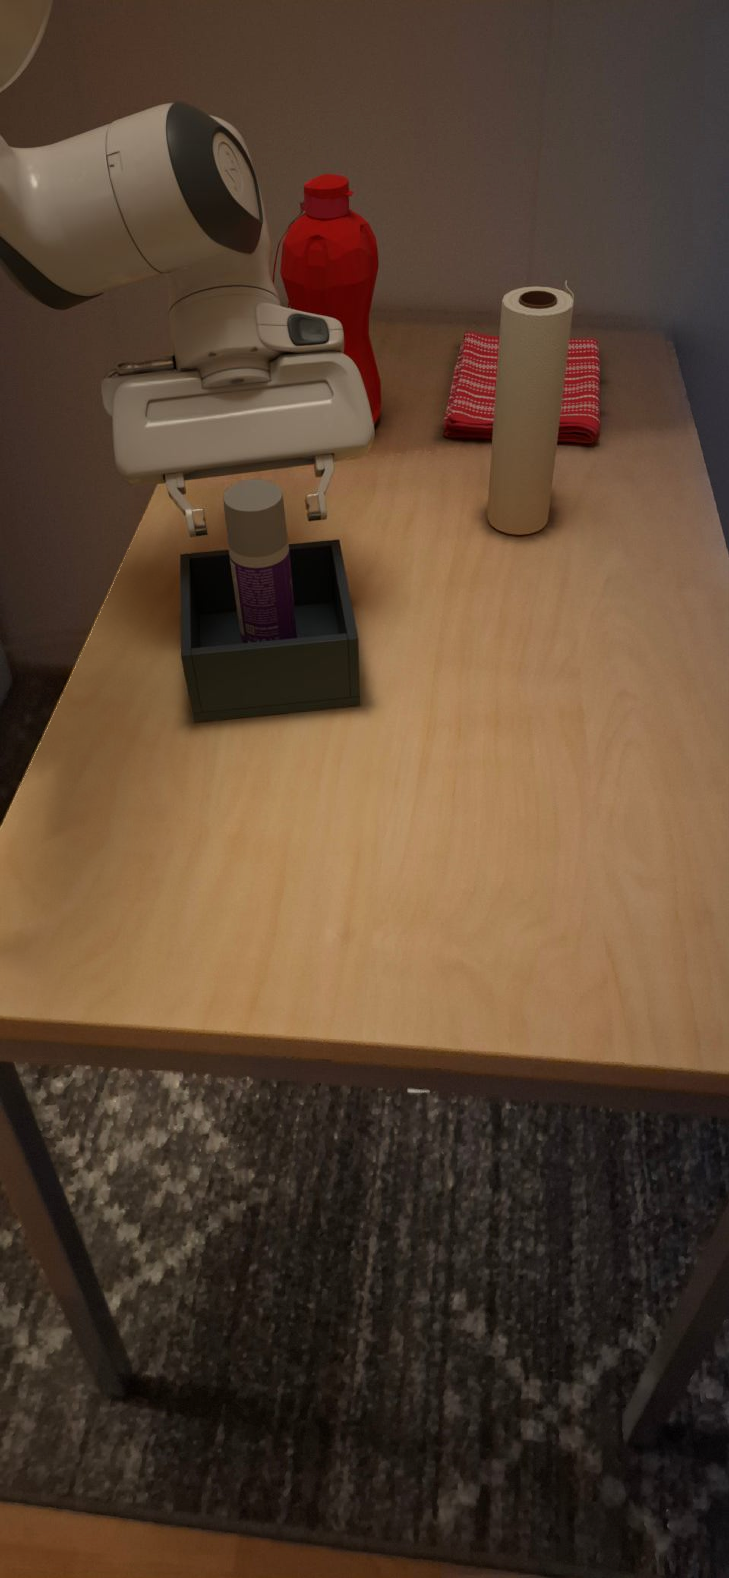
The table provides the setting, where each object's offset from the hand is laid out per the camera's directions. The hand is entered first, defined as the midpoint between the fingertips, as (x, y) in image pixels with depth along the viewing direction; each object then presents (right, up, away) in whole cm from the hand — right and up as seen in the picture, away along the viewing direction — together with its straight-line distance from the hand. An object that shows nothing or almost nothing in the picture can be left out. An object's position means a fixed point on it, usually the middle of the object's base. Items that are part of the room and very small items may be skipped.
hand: (258, 527), depth 82 cm
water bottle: (+4, +20, +35) cm, 41 cm away
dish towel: (+27, +25, +39) cm, 54 cm away
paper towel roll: (+24, +6, +22) cm, 33 cm away
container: (0, -9, +7) cm, 11 cm away
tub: (0, -10, +7) cm, 12 cm away
